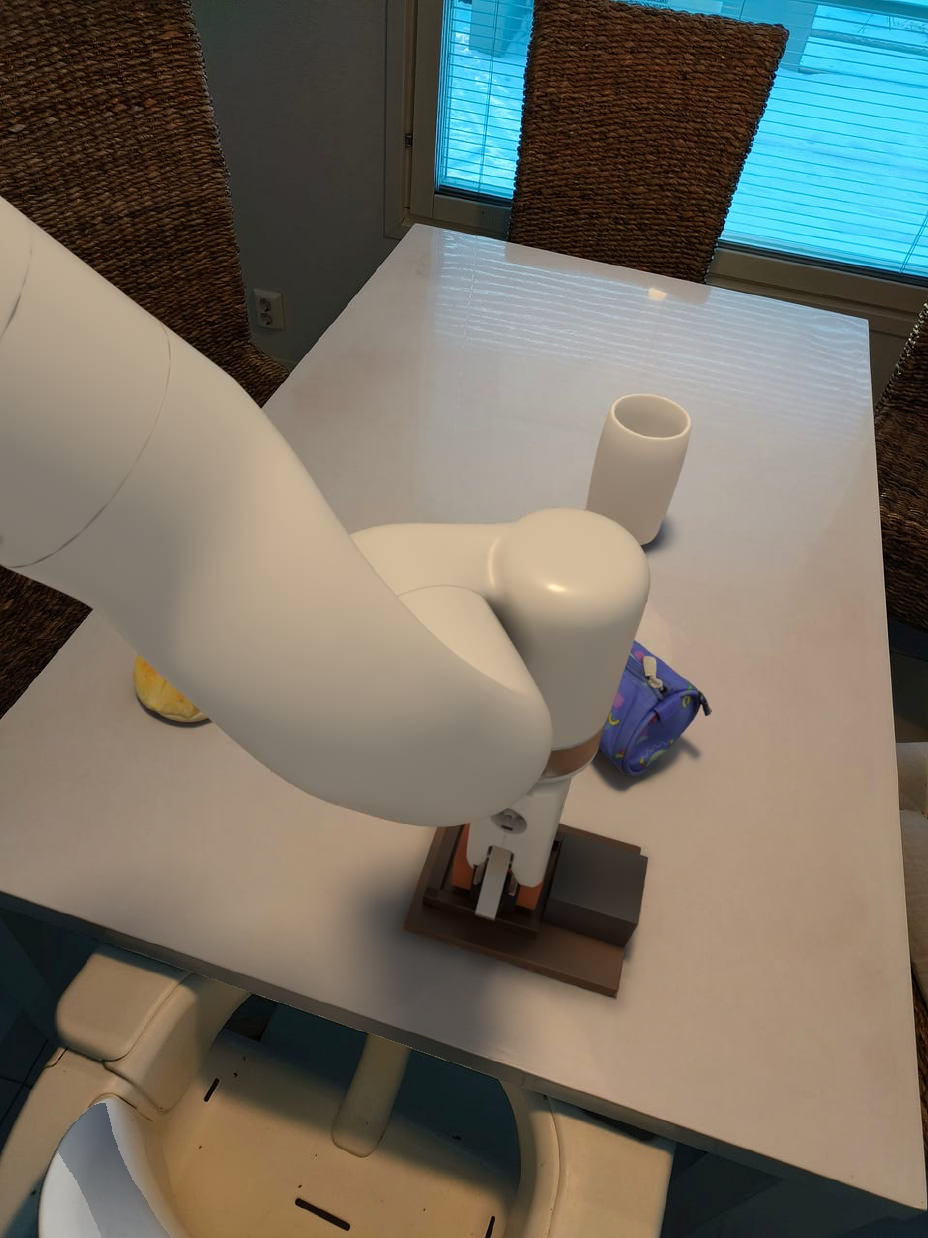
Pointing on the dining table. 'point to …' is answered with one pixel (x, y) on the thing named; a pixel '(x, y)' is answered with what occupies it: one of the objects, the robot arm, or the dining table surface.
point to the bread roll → (162, 695)
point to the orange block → (465, 872)
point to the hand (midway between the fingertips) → (502, 863)
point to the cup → (639, 462)
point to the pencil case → (648, 712)
